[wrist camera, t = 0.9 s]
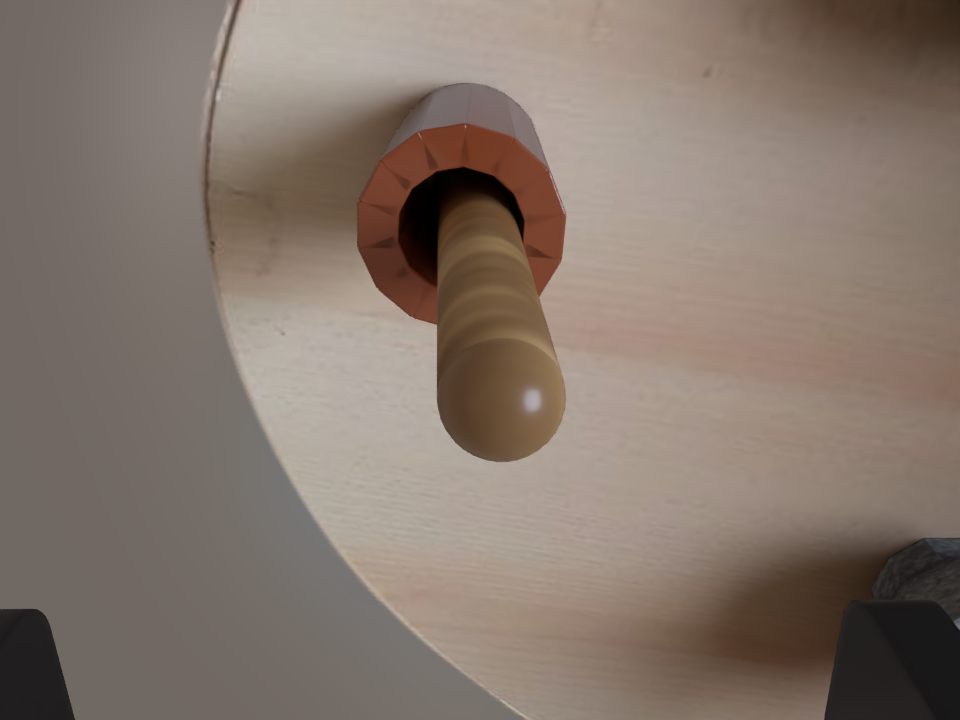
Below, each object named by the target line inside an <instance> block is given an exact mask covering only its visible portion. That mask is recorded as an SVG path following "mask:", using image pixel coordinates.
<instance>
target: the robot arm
mask: <svg viewBox="0 0 960 720" xmlns="http://www.w3.org/2000/svg"><path fill="white" fill-rule="evenodd" d="M0 720H75V718H74V714H73V711H72V707H71V703H70V699H69V695H68V692H67V688H66V684H65V680H64V676H63V673H62V669H61V665H60V662H59V658H58V654H57V650H56V646H55V643H54V639H53V635H52V631H51V628H50V625H49V622H48V620H47V618H46V616H45V615H44V614H43V613H42V612H41V611H39V610H37V609H0ZM824 720H960V630H959V629H958V628H957V626H956V625H955V624H954V622H953V621H952V620H951V618H950V617H949V615H948V614H947V613H946V611H945V610H944V609H943V608H942V607H941V606H940V605H939V604H938V603H936V602H934V601H932V600H927V599H923V600H855V601H851V602H850V603H849V604H848V605H847V607H846V608H845V611H844V614H843V618H842V622H841V628H840V633H839V639H838V645H837V650H836V656H835V661H834V667H833V672H832V678H831V684H830V689H829V695H828V700H827V706H826V711H825V719H824Z"/></svg>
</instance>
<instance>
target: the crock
mask: <svg viewBox="0 0 960 720" xmlns="http://www.w3.org/2000/svg"><path fill="white" fill-rule="evenodd" d="M462 167H465V168H469V169H472V170H475V171H479V172H482V173H486V174H489V175H492V176H494V177H495V178H496V179H497V180H498V181H499V182H500V183H501V184H503V185H504V186H505V187H506V189H507V192H508V195H509V199H510V202H511V206H512V209H513V212H514V216H515V219H516V222H517V226H518V229H519V232H520V236H521V239H522V242H523V246H524V249H525V252H526V256H527V259H528V262H529V266H530V269H531V273H532V276H533V279H534V283H535V286H536V289H537V293H538V296H540V295H541V293H542V292H543V290H544V288H545V287H546V285H547V283H548V282H549V280H550V279H551V277H552V275H553V274H554V272H555V271H556V269H557V267H558V266H559V264H560V262H561V259H562V253H563V244H564V234H565V224H566V212H565V209H564V206H563V204H562V201H561V198H560V196H559V193H558V190H557V187H556V185H555V182H554V179H553V177H552V174H551V171H550V168H549V166H548V163H547V160H546V158H545V155H544V152H543V149H542V147H541V144H540V141H539V139H538V136H537V133H536V131H535V128H534V125H533V123H532V120H531V118H530V117H529V115H527V114H526V112H525V111H524V110H523V109H522V108H521V106H520V105H519V104H518V103H516V102H515V101H514V100H513V99H512V98H511V97H509V96H508V95H506V94H505V93H503V92H501V91H499V90H497V89H495V88H492V87H489V86H486V85H481V84H474V83H461V84H454V85H449V86H446V87H443V88H441V89H438V90H436V91H434V92H432V93H430V94H429V95H427V96H426V97H425V98H423V99H422V100H421V101H420V102H419V103H418V104H417V105H415V106H414V107H413V108H411V110H410V111H409V112H408V114H407V116H406V117H405V119H404V120H403V122H402V124H401V125H400V127H399V128H398V130H397V132H396V133H395V135H394V137H393V138H392V140H391V141H390V143H389V145H388V146H387V148H386V149H385V151H384V153H383V154H382V156H381V158H380V159H379V161H378V163H377V164H376V166H375V168H374V170H373V172H372V174H371V176H370V178H369V180H368V182H367V184H366V186H365V188H364V190H363V192H362V194H361V196H360V198H359V201H358V217H357V247H358V250H359V252H360V254H361V256H362V258H363V261H364V263H365V265H366V267H367V269H368V271H369V273H370V275H371V277H372V279H373V282H374V284H375V286H376V287H377V288H378V289H379V291H380V292H381V293H383V294H384V295H385V296H386V297H387V298H389V299H390V300H391V301H392V302H394V303H395V304H396V305H397V306H398V307H400V308H401V309H402V310H403V311H404V312H406V313H407V314H408V315H409V316H411V317H413V318H415V319H418V320H422V321H426V322H429V323H433V324H436V325H437V286H438V171H444V170H450V169H456V168H462Z"/></svg>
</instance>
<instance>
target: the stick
mask: <svg viewBox="0 0 960 720" xmlns="http://www.w3.org/2000/svg"><path fill="white" fill-rule="evenodd" d="M565 403H566V393H565V385H564V380H563V376H562V373H561V370H560V366H559V363H558V360H557V356H556V353H555V350H554V346H553V343H552V340H551V336H550V333H549V329H548V326H547V323H546V319H545V316H544V313H543V309H542V306H541V303H540V299H539V296H538V293H537V289H536V286H535V283H534V279H533V276H532V273H531V269H530V266H529V262H528V259H527V256H526V252H525V249H524V246H523V242H522V239H521V236H520V232H519V229H518V226H517V222H516V219H515V216H514V212H513V209H512V206H511V202H510V199H509V195H508V192H507V189H506V187H505V186H504V185H503V184H501V183H500V182H499V181H498V180H497V179H496V178H495V177H494V176H492V175H489V174H486V173H482V172H479V171H475V170H472V169H469V168H465V167H462V168H456V169H450V170H444V171H438V286H437V404H438V410H439V413H440V418H441V421H442V423H443V425H444V427H445V429H446V431H447V432H448V434H449V435H450V436H451V437H452V439H453V440H454V441H455V443H456V444H458V445H459V446H460V447H461V448H462V449H463V450H465V451H467V452H468V453H470V454H472V455H473V456H476V457H479V458H482V459H485V460H489V461H495V462H509V461H515V460H519V459H522V458H525V457H528V456H529V455H531V454H533V453H535V452H536V451H538V450H539V449H541V448H542V447H543V446H544V445H545V444H547V443H548V442H549V440H550V439H551V438H552V437H553V436H554V434H555V433H556V431H557V429H558V427H559V425H560V423H561V420H562V417H563V414H564V411H565Z"/></svg>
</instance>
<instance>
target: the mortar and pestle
mask: <svg viewBox="0 0 960 720" xmlns="http://www.w3.org/2000/svg"><path fill="white" fill-rule="evenodd" d="M872 593H873V598H874V600H923V599H927V600H932V601H934V602H936V603H938V604H939V605H940V606H941V607H942V608H943V609H944V610H945V611H946V613H947V614H948V615H949V617H950V618H951V620H952V621H953V622H954V624H955V625H956V626H957V628H958V629H959V630H960V538H925V539H923V540H921V541H919V542H917V543H915V544H914V545H912V546H910V547H908V548H906V549H904V550H903V551H901V552H899V553H897V554H895V555H893V556H892V557H890V558H889V559H888V561H887V562H886V564H885V566H884V567H883V569H882V571H881V572H880V574H879V576H878V577H877V579H876V581H875V582H874V584H873V586H872Z"/></svg>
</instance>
